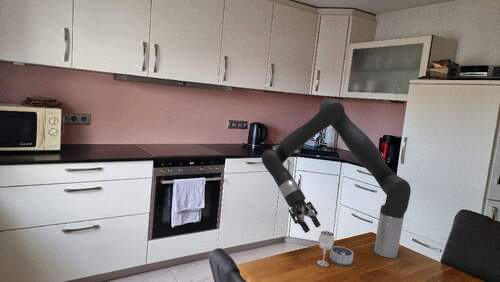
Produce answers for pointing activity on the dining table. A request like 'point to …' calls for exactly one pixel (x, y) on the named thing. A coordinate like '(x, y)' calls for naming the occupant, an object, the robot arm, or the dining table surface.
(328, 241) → the wineglass
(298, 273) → the dining table surface
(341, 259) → the grey bowl
